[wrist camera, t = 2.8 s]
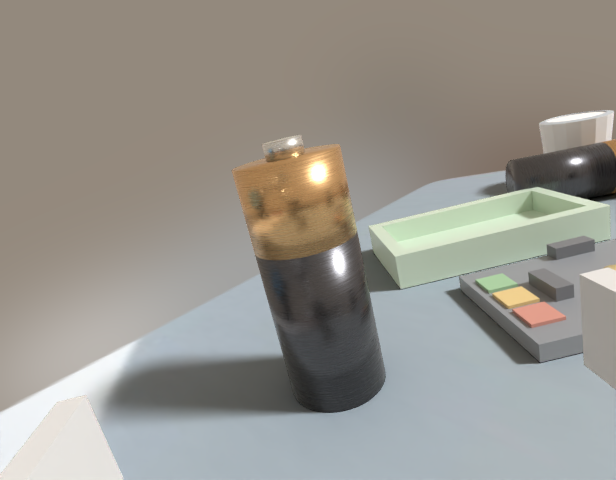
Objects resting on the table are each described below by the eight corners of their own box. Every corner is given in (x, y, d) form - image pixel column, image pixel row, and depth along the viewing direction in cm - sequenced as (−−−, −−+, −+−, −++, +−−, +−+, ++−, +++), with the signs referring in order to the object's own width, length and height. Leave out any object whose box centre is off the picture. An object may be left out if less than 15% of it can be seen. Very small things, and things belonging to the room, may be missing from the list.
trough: (400, 289, 31) (395, 256, 30) (373, 252, 39) (368, 226, 39) (610, 239, 31) (610, 205, 30) (537, 213, 40) (535, 186, 39)
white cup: (530, 181, 51) (526, 122, 49) (588, 168, 50) (586, 109, 48) (564, 191, 44) (561, 124, 42) (631, 177, 44) (631, 108, 42)
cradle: (540, 362, 20) (537, 329, 20) (460, 289, 29) (457, 265, 28) (780, 304, 20) (784, 270, 20) (629, 249, 29) (629, 224, 28)
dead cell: (526, 216, 39) (522, 164, 38) (507, 203, 44) (503, 157, 43) (677, 189, 37) (679, 132, 36) (640, 179, 42) (641, 129, 41)
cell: (287, 417, 20) (211, 158, 17) (298, 358, 25) (242, 146, 22) (389, 405, 20) (334, 130, 16) (382, 346, 24) (337, 124, 21)
